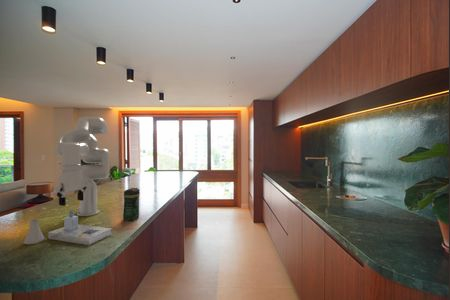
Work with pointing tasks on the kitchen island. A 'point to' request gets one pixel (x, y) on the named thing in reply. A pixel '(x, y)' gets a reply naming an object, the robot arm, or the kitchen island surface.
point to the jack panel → (81, 234)
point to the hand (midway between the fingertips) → (71, 202)
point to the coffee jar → (131, 204)
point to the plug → (70, 222)
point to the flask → (34, 233)
